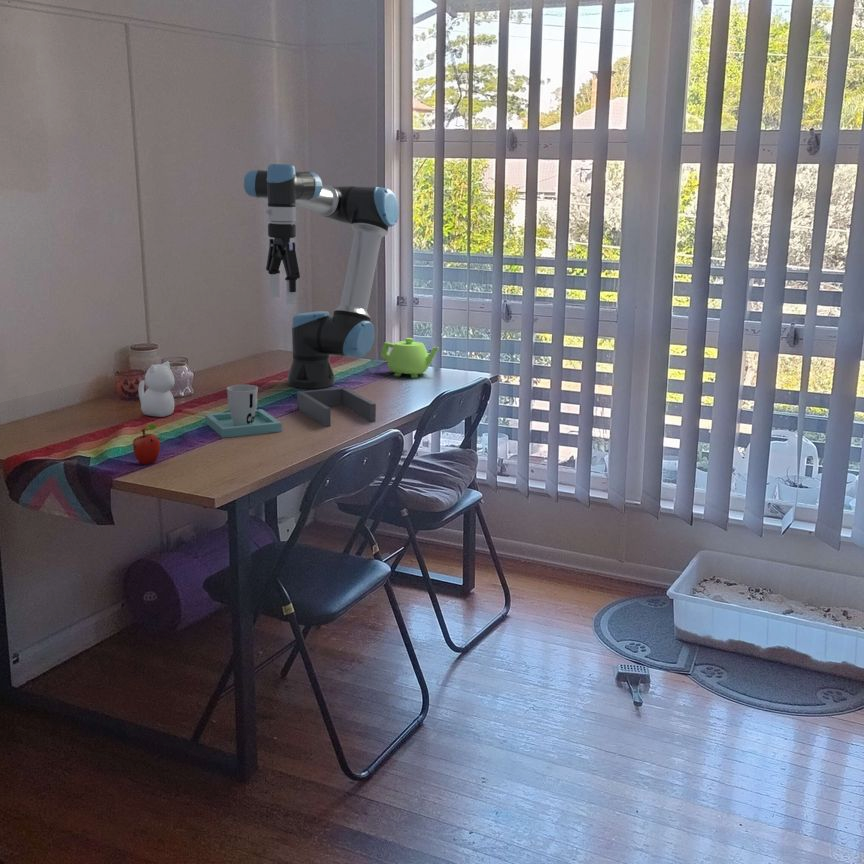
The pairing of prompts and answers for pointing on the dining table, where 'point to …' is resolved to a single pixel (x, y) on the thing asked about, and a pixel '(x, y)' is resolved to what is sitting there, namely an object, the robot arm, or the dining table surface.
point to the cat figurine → (157, 391)
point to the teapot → (408, 357)
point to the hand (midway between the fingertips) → (282, 300)
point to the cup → (242, 403)
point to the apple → (147, 446)
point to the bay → (334, 404)
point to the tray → (227, 428)
